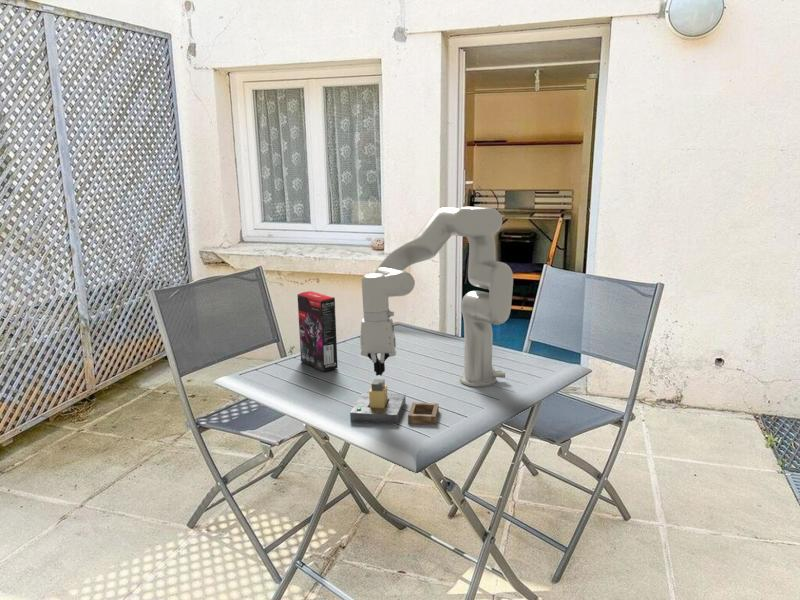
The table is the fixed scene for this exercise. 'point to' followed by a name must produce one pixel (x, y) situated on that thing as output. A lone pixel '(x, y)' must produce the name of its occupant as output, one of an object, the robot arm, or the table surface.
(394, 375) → the table surface
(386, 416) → the port
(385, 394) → the plug
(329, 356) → the graphics card box
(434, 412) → the frame
